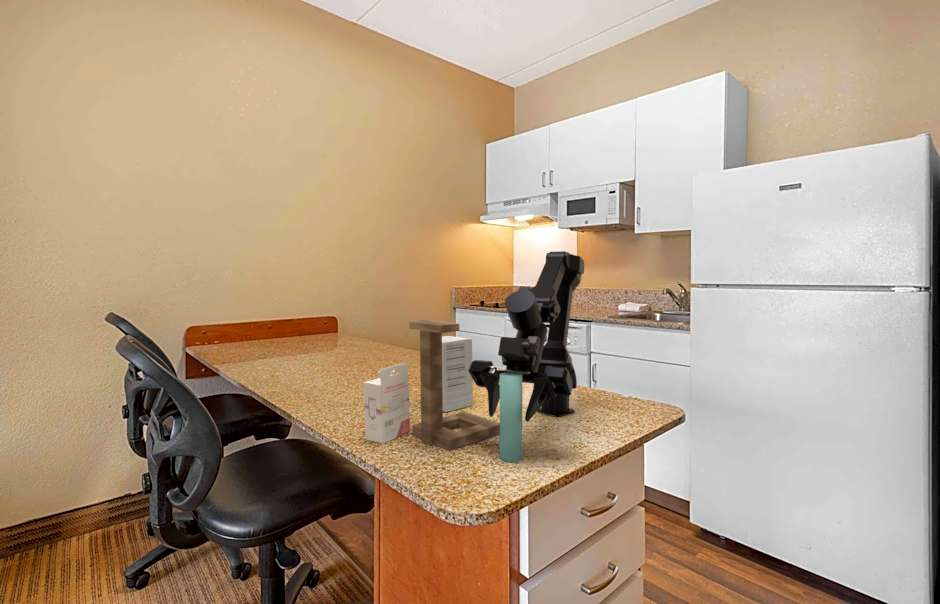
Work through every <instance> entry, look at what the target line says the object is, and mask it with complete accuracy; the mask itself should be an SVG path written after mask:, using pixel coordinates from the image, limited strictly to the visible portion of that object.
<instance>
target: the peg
mask: <svg viewBox="0 0 940 604" xmlns="http://www.w3.org/2000/svg"><path fill="white" fill-rule="evenodd" d="M499 385H500V399H499V423H500V435H499V460H501V461H503V462H506V463H518V462H520V461H522V460H523V382H522V374H520V373H514V372H507V373H501V374H500V382H499Z"/></svg>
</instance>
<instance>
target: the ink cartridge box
mask: <svg viewBox="0 0 940 604" xmlns="http://www.w3.org/2000/svg"><path fill="white" fill-rule="evenodd" d="M393 370H395V372H396V371H398V373H397V372H396V373H395V374H394V375H390V372H393ZM408 370H409V369H408V364H407V362H402V363H399V364H395V365H394V364H393V365H391V366H388V367H384V368H380V369H379V371H380V378H378V377H377V378H375V379H372V380H368V381H363V405H364V406H363V407H364V431H365V432H364V433H365V436H364V438H365V441H369V442H374V443H378V444H385V443H388V442H390V441H392V440H394V439H396V438H399V437H402V436H403V435H405V434H407V433H409V432H410V431H411V427H410V426H411V424H410V421H411V420H410V416H411V415H410V380H409V379H410V378H409V371H408Z"/></svg>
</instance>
